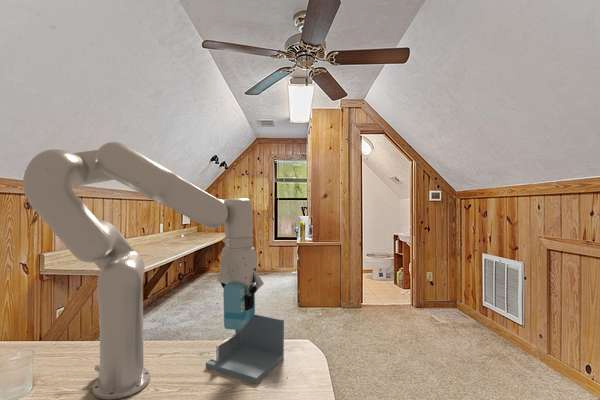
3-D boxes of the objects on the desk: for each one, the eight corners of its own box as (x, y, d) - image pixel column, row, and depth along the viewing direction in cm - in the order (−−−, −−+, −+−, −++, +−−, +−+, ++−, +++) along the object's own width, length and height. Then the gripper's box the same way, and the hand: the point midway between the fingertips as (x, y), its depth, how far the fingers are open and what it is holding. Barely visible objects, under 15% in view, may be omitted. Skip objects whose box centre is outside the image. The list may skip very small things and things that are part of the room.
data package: (239, 332, 88) (239, 287, 87) (223, 330, 89) (222, 286, 88) (255, 315, 100) (254, 274, 99) (240, 314, 101) (240, 274, 100)
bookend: (210, 360, 93) (210, 343, 93) (232, 345, 102) (232, 330, 102) (218, 362, 92) (218, 346, 92) (240, 347, 101) (240, 332, 101)
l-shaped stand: (205, 368, 92) (205, 326, 91) (236, 346, 104) (237, 309, 104) (256, 383, 84) (256, 338, 84) (283, 358, 97) (283, 319, 97)
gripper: (205, 242, 94) (206, 307, 94) (257, 247, 86) (258, 317, 87) (223, 239, 100) (224, 298, 101) (272, 242, 93) (273, 307, 94)
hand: (240, 306), depth 94 cm, fingers closed on data package, 5 cm apart
